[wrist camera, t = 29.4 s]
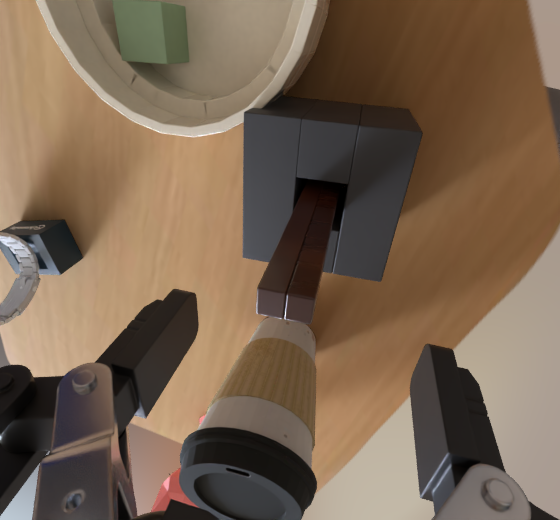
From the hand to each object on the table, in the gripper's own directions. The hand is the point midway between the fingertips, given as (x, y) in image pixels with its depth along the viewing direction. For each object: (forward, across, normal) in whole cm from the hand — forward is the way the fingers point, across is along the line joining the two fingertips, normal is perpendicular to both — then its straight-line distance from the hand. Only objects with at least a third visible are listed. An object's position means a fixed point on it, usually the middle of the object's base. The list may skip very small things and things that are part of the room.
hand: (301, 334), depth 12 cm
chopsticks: (+16, +1, -1) cm, 16 cm away
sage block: (+15, +13, -8) cm, 21 cm away
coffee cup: (+16, +3, +17) cm, 24 cm away
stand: (+16, +1, -1) cm, 16 cm away
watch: (+16, +28, +10) cm, 34 cm away
